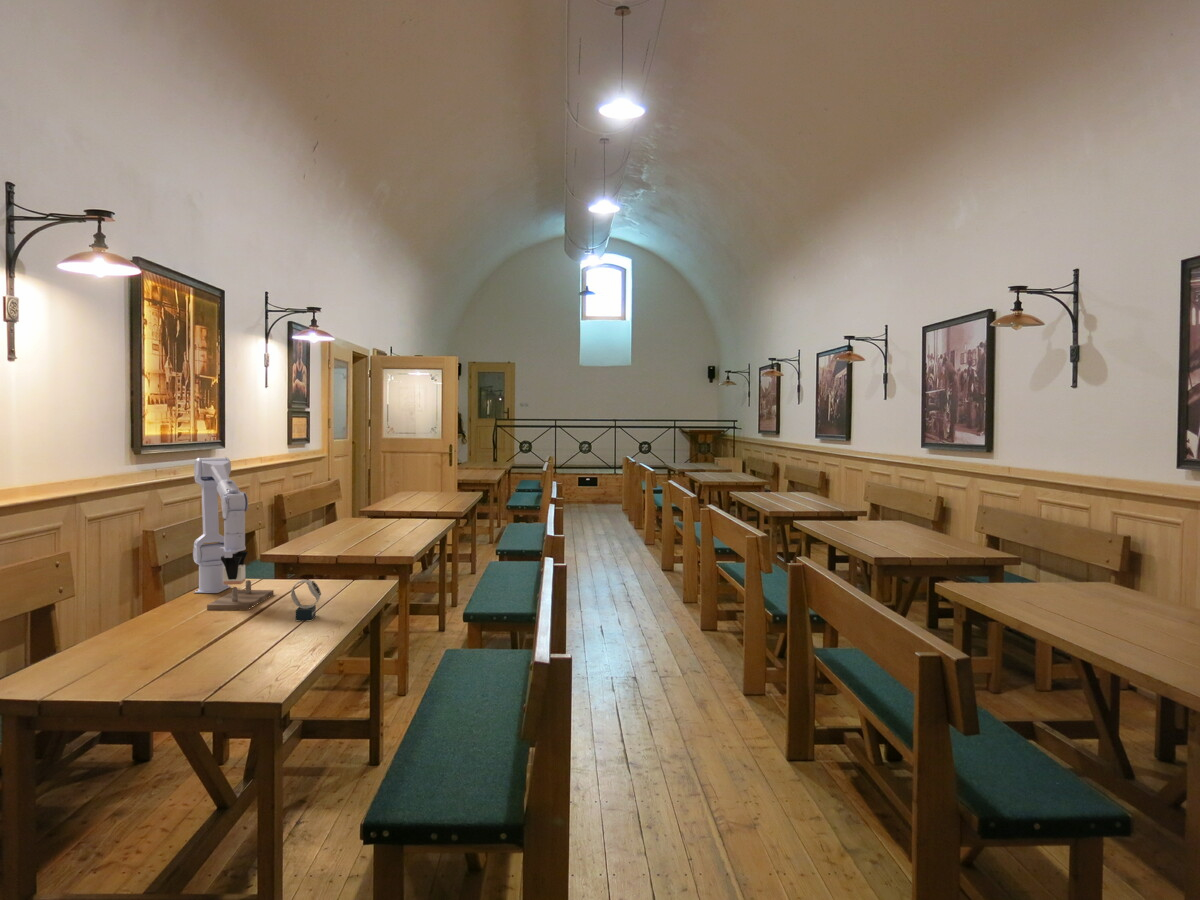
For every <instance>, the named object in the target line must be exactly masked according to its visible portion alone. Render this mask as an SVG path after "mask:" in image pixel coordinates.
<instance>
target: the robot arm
mask: <svg viewBox="0 0 1200 900" xmlns="http://www.w3.org/2000/svg"><path fill="white" fill-rule="evenodd" d="M193 471H194V475H193V477H194V482H195V483H196V484H198V485H200V488H201V512H202V515H201V517H202V534H201V535H200V536H199V537H198V538H196V539H195V540H194V542H193V548H192V559H193V561H194V563H195V564H196V565H198V589H197V590H198V591H196V590H194V591H195V592H194V591H193V593H194V594H195V593H196V594H218V593H221V592H223V591H225V590H227V589H229V588H231V584H230V585H223V568H224V567H225V569H226V572H227V576H228V579H229V580H231V579H236V578H237V573H238V567H239V565H245V561H246V558H247V556H248V554H249V551H247V550H246V549H247V548H246V512H247V510H248V508H249V501H248V499H249V498H248V495H247V493H246V492H245V491H241V490H240V488H239V486H238V485H237V482H236V481H234V480H233V479H231V478H230V474H231V471H232V463H231V460H230V458H228V457H227V456H226V457H225V456H224V457H203V458H202V457H197V458H196V459H195V461H194V466H193ZM218 495H219V497H220V500H221V501H220V503H221V512H222V518H223V521H224V522H223V528H224V529H223V530H224V531H223V534H224V535H222V534H220V528H219V527H220V526H219V525H220V523H219V521H220V520H219V498H218Z"/></svg>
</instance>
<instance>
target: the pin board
mask: <svg viewBox="0 0 1200 900" xmlns="http://www.w3.org/2000/svg"><path fill="white" fill-rule="evenodd" d="M273 594H274V590H272V589H252V580H250V579H247V580H245V589H239V588H238V587H237V586H233V587H232V589H231V592H228V593H227V594H225V595H223V596H221V597H220V598H218V599H216V600H214V601H212V602H210V603H208V604H207V605H206V610H207V611H238V610H237V609H249V608H251V607H252V606H254V605H256V604H257V603H259V602H261V601H262V602H263V600H264V599H266V598H267V599H269V598H270V597H269V596H271V595H272V596H274V595H273ZM272 596H271V597H272ZM268 597H269V598H268ZM267 599H266V600H267ZM264 601H265V600H264ZM262 602H261V603H262ZM259 604H260V603H259ZM257 605H258V604H257ZM257 605H256V606H257ZM254 607H255V606H254ZM252 608H253V607H252ZM252 608H251V609H252ZM249 610H250V609H249Z"/></svg>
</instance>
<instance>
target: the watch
mask: <svg viewBox="0 0 1200 900" xmlns="http://www.w3.org/2000/svg"><path fill="white" fill-rule="evenodd" d="M302 583H305V584H306V585H307V587H308V590H309V592H310V593H311V595H312V596H313V597H314V598H315V599H316V601H315V602H314V603H313V604H310V605H307V604H306V605H305V604H304V605H303V604H301V601H300V600H299V599H298V597H297V595H296V591H295V588H296V586H297V585H299V584H302ZM290 596H291V599H292V601H293V603H294V605H295V606H296V607H297V608H296V609H295V621H296V620H301V621H300V622H303V621H302V620H312V619H313V620H314V618H315V617H316V616H315V615H316V612H317V610H316V608H317V607H316V605H317V604H318V602H319V601H320V599H321V596H322V592H321V589H320V587H319V586H318V584H317V583H316V581H314V580H310V579H302V580H299V581H297V582H296V583H295V584H294V585H293V586H292V588H291V590H290ZM314 616H315V617H314ZM313 620H312V621H313Z"/></svg>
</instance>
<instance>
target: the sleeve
mask: <svg viewBox="0 0 1200 900" xmlns="http://www.w3.org/2000/svg"><path fill="white" fill-rule="evenodd" d="M243 583H246V564H244V565H239V567H238V573H237V578H236V579H231V580H229V579H228V576H227V572H226V569H225V567H224V568H223V585H230V586H231V585H242V584H243Z"/></svg>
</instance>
